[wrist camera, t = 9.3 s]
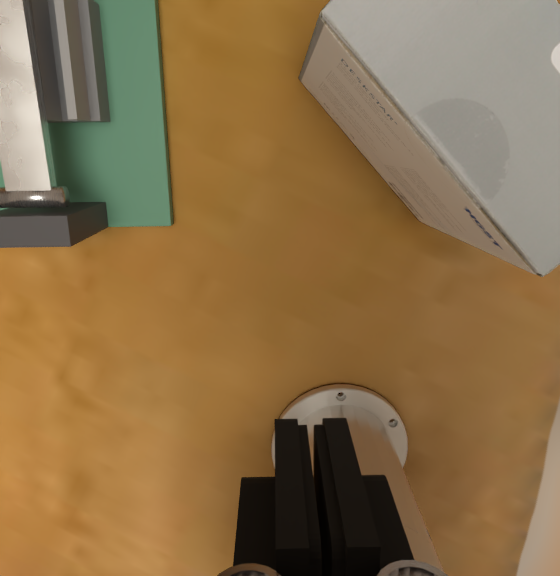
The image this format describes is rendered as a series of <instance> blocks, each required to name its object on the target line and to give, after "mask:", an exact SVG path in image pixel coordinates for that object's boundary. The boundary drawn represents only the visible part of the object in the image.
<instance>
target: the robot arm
mask: <svg viewBox="0 0 560 576" xmlns="http://www.w3.org/2000/svg"><path fill="white" fill-rule="evenodd" d="M340 392H342V394H338V393H340ZM391 419H392V420H391ZM271 448H272V460H273V464H274V468H275V477H242V479H241V487H240V498H239V508H238V519H237V530H236V541H235V552H234V562H233V567H230V568H228V569H226V570H225V571H223V572H221V573H219V574H218V576H448V575H446V574H445V573H444V570H443V568H442V566H441V563H440V561H439V558H438V556H437V553H436V551H435V548H434V545H433V543H432V540H431V538H430V535H429V533H428V530H427V528H426V525H425V523H424V520H423V518H422V516H421V513H420V511H419V508H418V506H417V503H416V501H415V498H414V496H413V493H412V491H411V488H410V486H409V483H408V480H407V478H406V475H405V473H404V470H403V467H404V464H405V462H406V458H407V452H408V437H407V434H406V430H405V426H404V424H403V422H402V420H401V418H400V416H399V414H398V413H397V411H396V410H395V408H394V407H393V406H392V405H391V404H390V403H389V402H388V401H387V400H386V399H385V398H383V397H382V396H380V395H379V394H377V393H376V392H374V391H371V390H369V389H366V388H364V387H360V386H355V385H350V384H334V385H328V386H322V387H319V388H316V389H313V390H311V391H309V392H307V393H305V394H303V395H301V396H300V397H298V398H297V399H296V400H295V401H293V402H292V403H291V404H290V405H289V406H288V407H287V408H286V409H285V410H284V412H283V413H282V414H281V416H280V418H279V419H275V429H274V432H273V435H272V446H271Z"/></svg>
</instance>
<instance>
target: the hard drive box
mask: <svg viewBox="0 0 560 576" xmlns="http://www.w3.org/2000/svg"><path fill="white" fill-rule="evenodd" d="M299 80H300V81H301V83H302V84H303V85H304V86H305V87H306V88H307V90H308V91H309V92H310V93H311V94H312V95H313V96H314V98H315V99H316V100H317V101H318V102H319V103H320V105H321V106H322V107H323V108H324V109H325V111H326V112H327V113H328V114H329V115H330V117H331V118H332V119H333V120H334V121H335V122H336V123H337V125H338V126H339V127H340V128H341V129H342V130H343V131H344V133H345V134H346V135H347V136H348V138H349V139H350V140H351V141H352V142H353V144H354V145H355V146H356V147H357V148H358V149H359V151H360V152H361V153H362V154H363V155H364V156H365V158H366V159H367V160H368V161H369V162H370V164H371V165H372V166H373V167H374V168H375V169H376V171H377V172H378V173H379V174H380V175H381V177H382V178H383V179H384V180H385V181H386V183H387V184H388V185H389V186H390V187H391V188H392V190H393V191H394V192H395V193H396V194H397V195H398V197H399V198H400V199H401V200H402V201H403V202H404V203H405V205H406V206H407V207H408V208H409V209H410V211H411V212H412V213H413V214H414V215H415V216H416V217H417V219H418V220H419V221H420V222H422V223H424V224H426V225H428V226H431V227H433V228H435V229H437V230H439V231H441V232H444V233H446V234H448V235H450V236H452V237H455V238H457V239H459V240H461V241H463V242H465V243H468V244H470V245H472V246H474V247H476V248H479V249H481V250H483V251H485V252H487V253H489V254H491V255H494V256H496V257H498V258H500V259H502V260H504V261H506V262H508V263H511V264H513V265H515V266H517V267H519V268H521V269H524V270H526V271H528V272H530V273H533V274H536V275H538V276H541V277H543V276H545V275H547V274H548V273H550V272H551V271H552V270H553V269H554V268H556V267H557V266H558V265H559V264H560V5H559V3H558V2H557V0H330V1H329V3H328V4H327V5H326V6H325V7H324V8H323V9H322V10H321V12H320V15H319V18H318V20H317V23H316V27H315V29H314V33H313V36H312V39H311V42H310V45H309V48H308V51H307V54H306V57H305V60H304V63H303V66H302V70H301V72H300V76H299Z"/></svg>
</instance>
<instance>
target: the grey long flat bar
mask: <svg viewBox="0 0 560 576" xmlns="http://www.w3.org/2000/svg"><path fill="white" fill-rule="evenodd" d="M0 161H1V167H2V173H3V178H4V184H5V187H0V208H45V207H68V206H69V203H70V195H69V191H68V189H67V187H66V186H57V184H56V177H55V171H54V164H53V157H52V150H51V144H50V137H49V130H48V123H47V117H46V110H45V103H44V96H43V90H42V83H41V76H40V69H39V63H38V56H37V49H36V42H35V36H34V29H33V22H32V15H31V9H30V2H29V0H0Z"/></svg>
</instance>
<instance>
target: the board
mask: <svg viewBox="0 0 560 576" xmlns="http://www.w3.org/2000/svg"><path fill="white" fill-rule="evenodd" d="M29 2H30V9H31V15H32V22H33V29H34V36H35V42H36V49H37V56H38V63H39V69H40V76H41V83H42V90H43V96H44V103H45V110H46V117H47V123H48V130H49V137H50V144H51V150H52V157H53V164H54V171H55V177H56V184H57V186H66V187H67V189H68V191H69V195H70V203H69V206H68V207H45V208H0V248H7V247H70V246H73V245H75V244H77V243H78V242H80V241H82V240H84V239H86V238H88V237H90V236H92V235H94V234H96V233H98V232H100V231H101V230H103V229H105V228H107V227H131V226H171V225H173V224H174V221H173V207H172V193H171V179H170V164H169V150H168V136H167V122H166V108H165V94H164V79H163V65H162V51H161V37H160V23H159V9H158V0H29ZM0 187H5V184H4V178H3V173H2V167H1V161H0Z"/></svg>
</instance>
